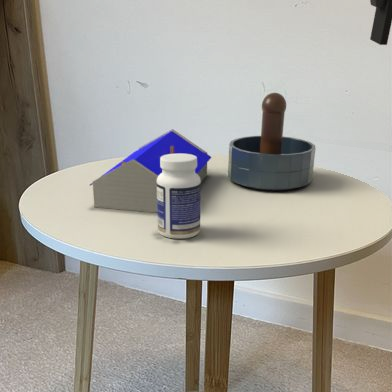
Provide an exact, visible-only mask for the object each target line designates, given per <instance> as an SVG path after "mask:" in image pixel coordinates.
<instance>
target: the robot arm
mask: <svg viewBox="0 0 392 392" xmlns="http://www.w3.org/2000/svg"><path fill="white" fill-rule="evenodd" d="M369 3H370V5H371V6H372V7H375V10H374V11H375V12H374V17H373V23H372V28H371V33H370V38H369V40H370V41H372V42H374V43H376V44H377V45H380V46H388V41H389V36H390V32H391V28H392V27H391V26H392V0H369Z"/></svg>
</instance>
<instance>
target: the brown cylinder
mask: <svg viewBox="0 0 392 392" xmlns="http://www.w3.org/2000/svg"><path fill="white" fill-rule="evenodd" d="M261 110H262V114H261V115H262V116H261V128H260V129H261V130H260V136H261V143H260V153H263V154H281V148H282V137H284V136H283V135H284V124H285V123H284V122H285V114H286V113H285V112H286V110H287V101H286V99H285V96H283V94H281V93H278V92H271V93H268V94H267V95H266V96H265V97H264V98H263V100H262V103H261Z"/></svg>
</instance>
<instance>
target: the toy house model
mask: <svg viewBox="0 0 392 392" xmlns="http://www.w3.org/2000/svg"><path fill="white" fill-rule="evenodd" d="M177 153H182V154H191V155H194V156H196V157H197V167H196V169H195V173H196V174H198V175H199V177H200V180H201V183H202V182H203V180H204V179H205V178H206V177H207V176H208V162H209V161H210V160H211V159H212V156H211V155H209V154H208V152H207V151H206V150H204V149H202V148H201V147H200V146H198V145H197V144H195V143H194V142H192V141H191V140H189V138H186V137H185V136H184V135H182V134H181V133H180V132H178V131H176V130H175V129H174V128H172V129H170V130H168V131H167V132H165V133H163V134H161V135H160V136H158V137H156V138H154V139H152V140H150V141H149V142H147V143H145V144H143V145H142V146H140V147H138V149H137V150H135V151H134V152H132V153H131V154H130V155H128V156H127V157H125V158H124V159H122V160H121V161H120V162H118V164H116V165H114V166H113V167H112V168H109V170H107V171H106V172H105V173H104V174H102V175H101V176H100V177H98V178H96V179H94V180H93V181H92V182H91V183H90V184H89V186H90V187H91V186H92V193H93V205H94V206H93V207H94V208H99V209H100V208H101V209H112V210H123V211H136V212H145V213H154V214H155V213H156V214H157V178H158V176H159V175H160V174H161V173H162V168H161V167H160V158H161V156H164V155H167V154H177Z"/></svg>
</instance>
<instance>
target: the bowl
mask: <svg viewBox="0 0 392 392" xmlns="http://www.w3.org/2000/svg"><path fill="white" fill-rule="evenodd" d="M260 143H261V135H249V136H243V137H242V136H241V137H238V138H234V139H232V140H230V142H229V144H228V164H227V177H228V179H229V180H230V181H231V182H233V183H236V184H237V185H240V186H243V187H246V188H249V189H255V190H260V191H275V192H276V191H288V190H294V189H297V188H301V187H305V186H308V185H309V184H310V183H312V182H313V174H314V166H315V157H316V144H315V143H313V142H311V141H309V140H305V139H301V138H296V137H291V136H283V137H282V148H281V154H263V153H260Z"/></svg>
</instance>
